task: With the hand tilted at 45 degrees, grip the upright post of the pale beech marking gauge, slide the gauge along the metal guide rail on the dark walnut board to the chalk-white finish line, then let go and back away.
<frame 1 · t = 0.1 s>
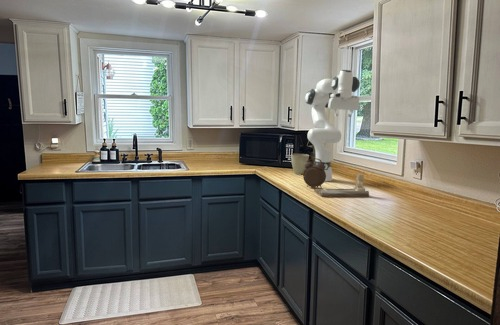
hand: (342, 116, 230), 48 cm above the worktop, tool pointing down, fingers open, 8 cm apart
alarm clock: (313, 188, 235), on the worktop
gauge: (358, 191, 218), point 2 cm above the worktop, touching walnut board
walnut board: (340, 194, 219), on the worktop
plant pot: (298, 174, 290), on the worktop
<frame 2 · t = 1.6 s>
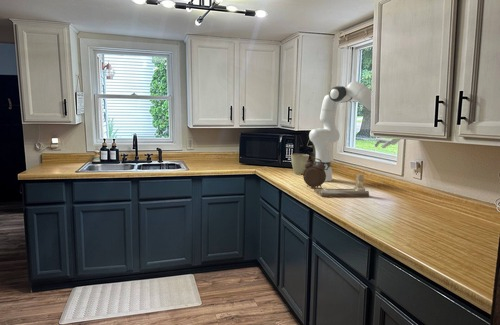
hand: (378, 146, 221), 30 cm above the worktop, tool tilted 45°, fingers open, 8 cm apart
nothing on the worktop moved.
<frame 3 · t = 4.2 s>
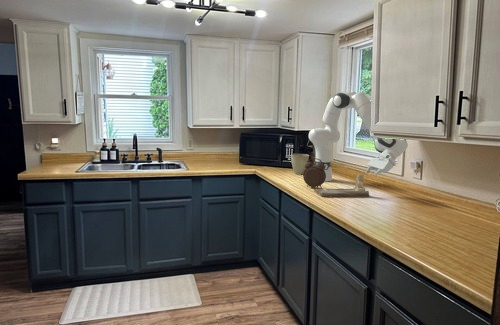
hand: (370, 173, 218), 13 cm above the worktop, tool tilted 45°, fingers open, 8 cm apart
nothing on the worktop moved.
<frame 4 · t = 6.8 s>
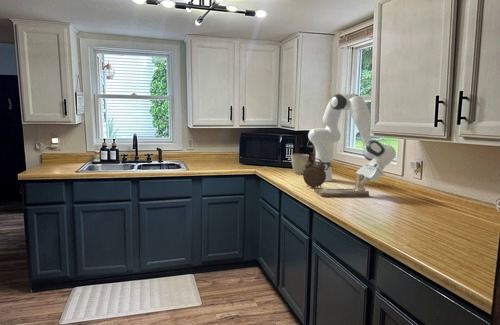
hand: (358, 182, 218), 8 cm above the worktop, tool tilted 45°, fingers closed on gauge, 3 cm apart
gauge: (358, 191, 218), point 2 cm above the worktop, touching gripper, walnut board
everything else where it was.
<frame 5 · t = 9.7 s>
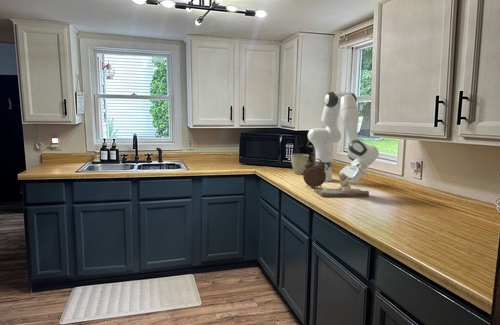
hand: (341, 182, 216), 8 cm above the worktop, tool tilted 45°, fingers closed on gauge, 3 cm apart
gauge: (345, 190, 217), point 3 cm above the worktop, tilted 19°, touching gripper
everything else where it was.
when the fingers open (8 cm above the worktop, at t = 12.8 s): gauge stays where it is, resting on walnut board.
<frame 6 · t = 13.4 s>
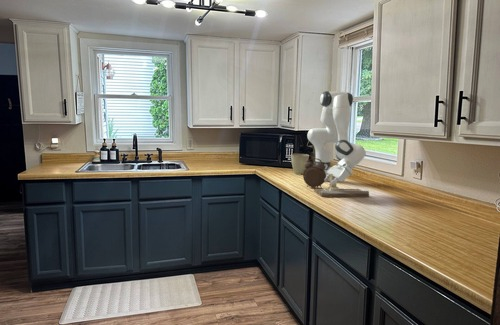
hand: (327, 182, 214), 8 cm above the worktop, tool tilted 45°, fingers open, 8 cm apart
gauge: (332, 191, 216), point 2 cm above the worktop, touching walnut board
everything else where it was.
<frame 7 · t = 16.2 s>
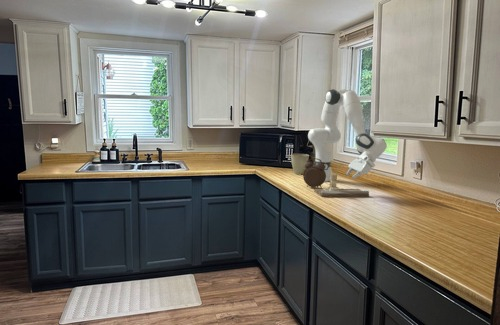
hand: (350, 176, 217), 12 cm above the worktop, tool tilted 40°, fingers open, 8 cm apart
nothing on the worktop moved.
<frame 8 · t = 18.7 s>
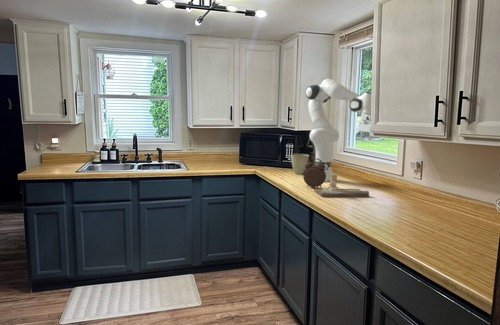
hand: (366, 139, 229), 34 cm above the worktop, tool pointing down, fingers open, 8 cm apart
nothing on the worktop moved.
at the end: gauge inside the target area (2.8 cm from its centre), point 2.0 cm above the worktop; gauge tilted 0°; the gripper is holding nothing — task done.
